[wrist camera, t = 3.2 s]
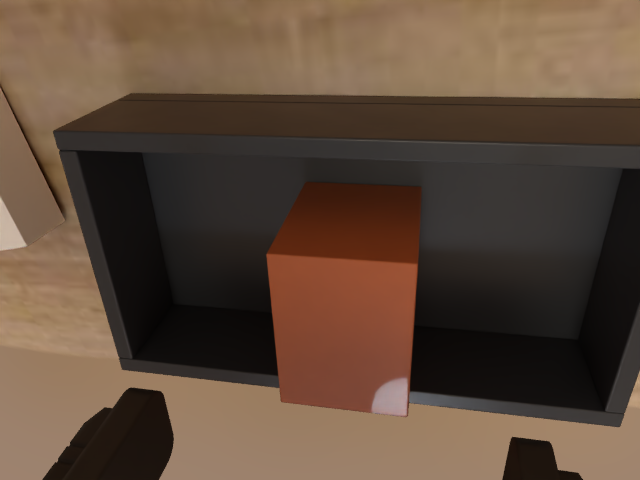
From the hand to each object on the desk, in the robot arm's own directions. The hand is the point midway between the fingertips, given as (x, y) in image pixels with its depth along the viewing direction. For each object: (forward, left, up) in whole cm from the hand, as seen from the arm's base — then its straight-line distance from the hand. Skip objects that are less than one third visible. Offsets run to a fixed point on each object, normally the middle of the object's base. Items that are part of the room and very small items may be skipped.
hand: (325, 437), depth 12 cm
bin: (-1, 0, -9) cm, 9 cm away
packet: (0, 0, -8) cm, 8 cm away
